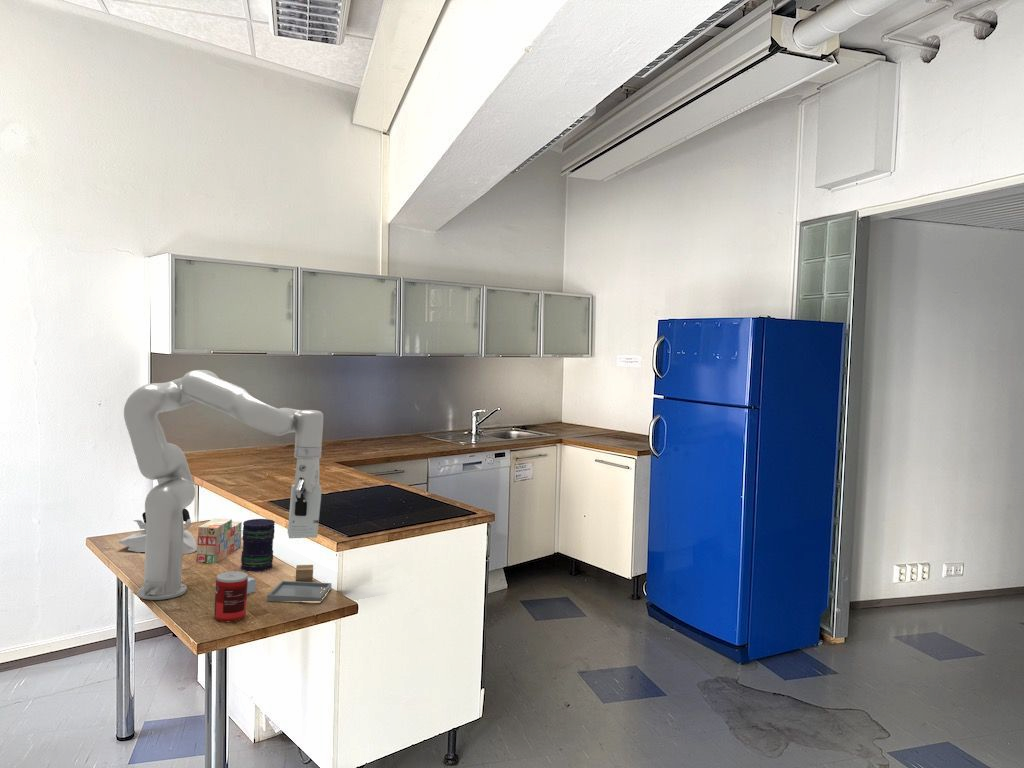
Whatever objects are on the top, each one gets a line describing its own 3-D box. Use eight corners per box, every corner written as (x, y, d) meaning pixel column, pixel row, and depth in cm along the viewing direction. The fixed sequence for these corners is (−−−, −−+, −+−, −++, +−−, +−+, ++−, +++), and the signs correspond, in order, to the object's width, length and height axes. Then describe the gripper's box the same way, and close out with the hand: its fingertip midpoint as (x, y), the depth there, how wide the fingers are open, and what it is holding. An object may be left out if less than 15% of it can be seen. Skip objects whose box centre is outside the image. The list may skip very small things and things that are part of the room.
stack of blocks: (223, 546, 241) (225, 512, 241) (241, 547, 242) (242, 513, 241) (196, 563, 220) (198, 526, 220) (215, 564, 220) (217, 527, 220)
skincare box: (288, 539, 191) (291, 487, 191) (287, 533, 196) (290, 483, 196) (319, 537, 194) (322, 487, 194) (316, 532, 200) (319, 483, 199)
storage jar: (275, 570, 217) (278, 524, 217) (243, 573, 212) (246, 526, 212) (269, 561, 226) (271, 517, 225) (238, 564, 221) (240, 519, 220)
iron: (134, 544, 237) (136, 502, 237) (203, 547, 238) (205, 505, 238) (117, 552, 227) (119, 508, 226) (189, 556, 227) (192, 512, 227)
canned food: (227, 609, 181) (229, 569, 181) (252, 614, 179) (254, 573, 179) (207, 619, 174) (209, 577, 173) (232, 624, 171) (234, 581, 171)
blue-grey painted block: (254, 592, 196) (255, 579, 196) (243, 596, 192) (244, 582, 192) (235, 587, 200) (236, 573, 200) (224, 590, 196) (225, 577, 196)
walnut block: (312, 585, 205) (313, 569, 205) (295, 586, 203) (296, 569, 203) (312, 580, 210) (313, 564, 210) (295, 580, 208) (296, 565, 208)
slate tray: (320, 604, 189) (320, 597, 189) (266, 601, 189) (267, 595, 189) (331, 589, 202) (331, 583, 202) (281, 586, 202) (281, 580, 202)
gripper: (313, 456, 186) (309, 520, 187) (328, 449, 204) (324, 507, 204) (285, 455, 186) (282, 518, 186) (303, 448, 203) (300, 505, 204)
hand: (304, 512), depth 195 cm, fingers closed on skincare box, 7 cm apart
